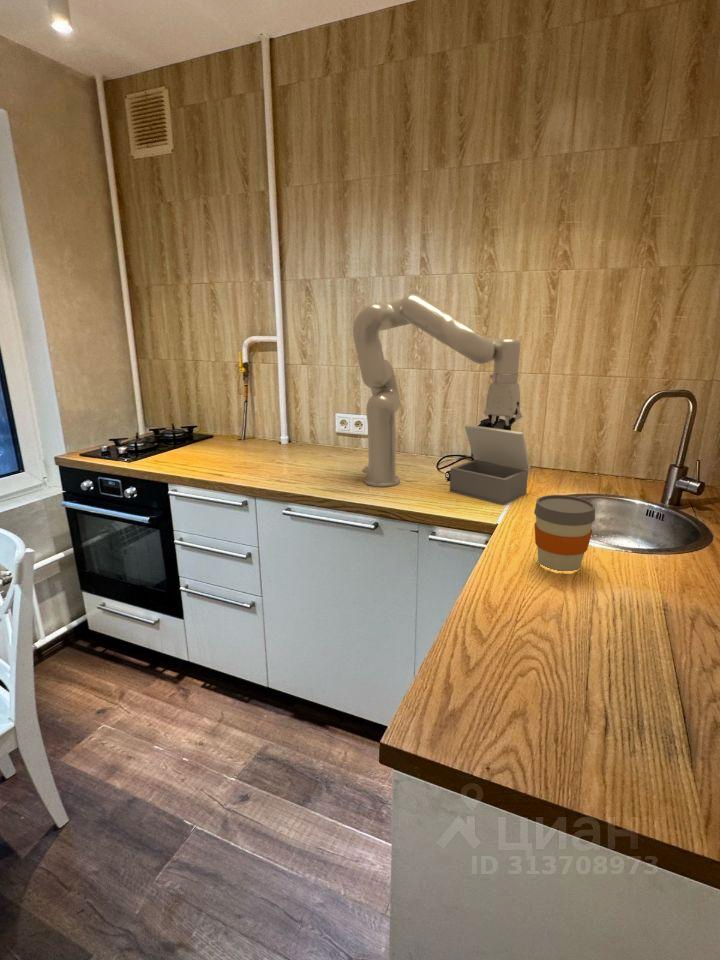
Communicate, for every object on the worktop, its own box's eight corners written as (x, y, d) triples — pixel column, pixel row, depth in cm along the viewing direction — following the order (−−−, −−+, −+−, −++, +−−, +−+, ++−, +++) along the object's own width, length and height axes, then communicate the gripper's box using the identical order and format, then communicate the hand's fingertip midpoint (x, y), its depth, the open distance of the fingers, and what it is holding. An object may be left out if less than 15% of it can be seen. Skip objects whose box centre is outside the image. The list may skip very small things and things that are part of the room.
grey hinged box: (449, 491, 170) (450, 468, 167) (473, 482, 179) (474, 460, 177) (503, 505, 156) (505, 480, 154) (526, 494, 166) (528, 470, 163)
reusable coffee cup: (583, 583, 109) (591, 517, 104) (523, 569, 115) (528, 507, 111) (592, 560, 119) (600, 499, 114) (537, 549, 125) (542, 491, 121)
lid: (464, 426, 169) (473, 415, 172) (474, 459, 177) (482, 449, 180) (521, 434, 155) (530, 422, 158) (529, 470, 163) (537, 458, 166)
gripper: (476, 378, 165) (473, 434, 170) (523, 382, 153) (518, 441, 159) (489, 376, 170) (485, 431, 175) (535, 380, 158) (530, 438, 164)
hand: (501, 435), depth 167 cm, fingers closed on lid, 3 cm apart
